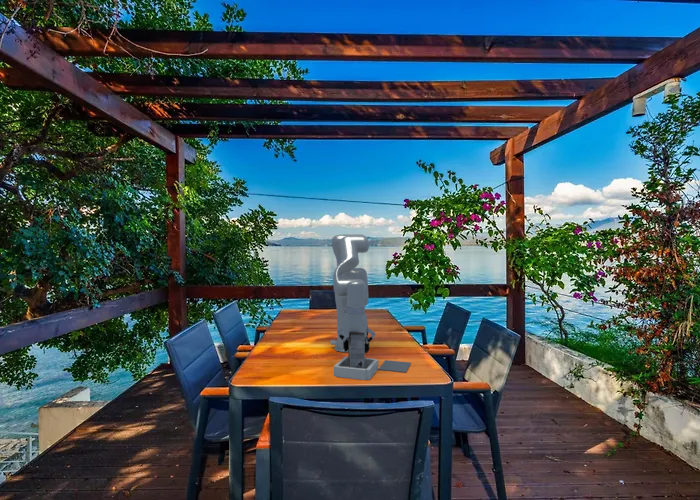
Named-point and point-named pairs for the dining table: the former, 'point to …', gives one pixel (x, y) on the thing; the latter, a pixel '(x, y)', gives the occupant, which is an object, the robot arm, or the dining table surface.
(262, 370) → the dining table surface
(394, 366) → the mat
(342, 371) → the holder
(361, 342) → the coffee box
